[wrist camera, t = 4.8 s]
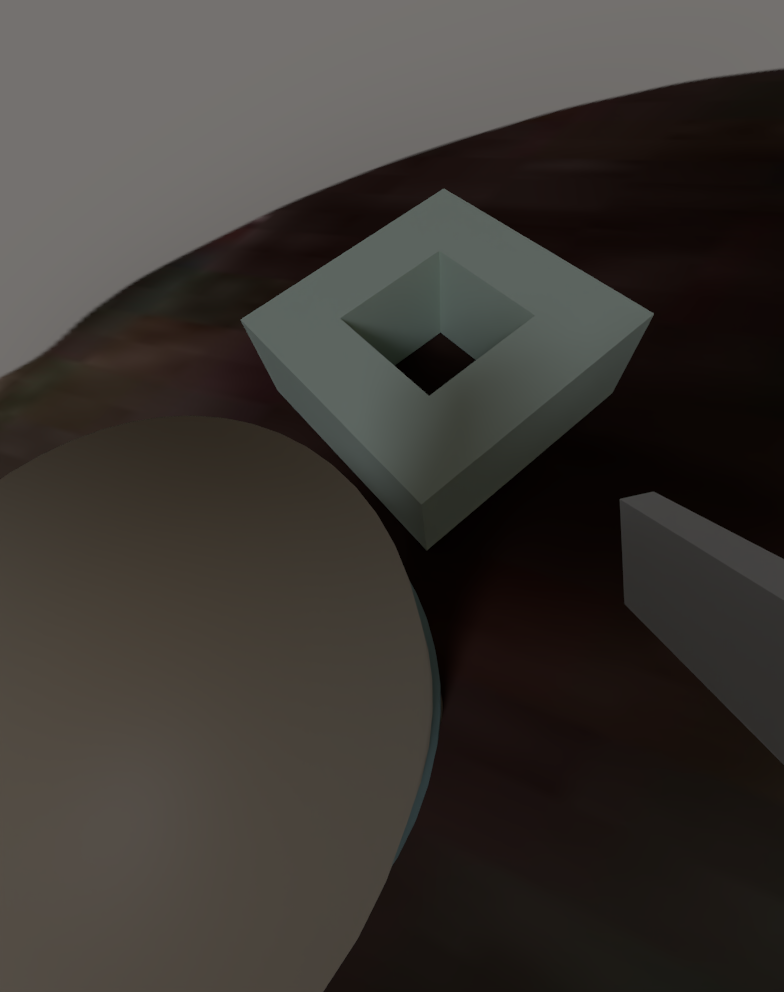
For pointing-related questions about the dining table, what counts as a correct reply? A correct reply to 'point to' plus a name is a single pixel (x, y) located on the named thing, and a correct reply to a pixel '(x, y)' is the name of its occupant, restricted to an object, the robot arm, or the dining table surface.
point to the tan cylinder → (200, 712)
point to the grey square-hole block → (470, 325)
